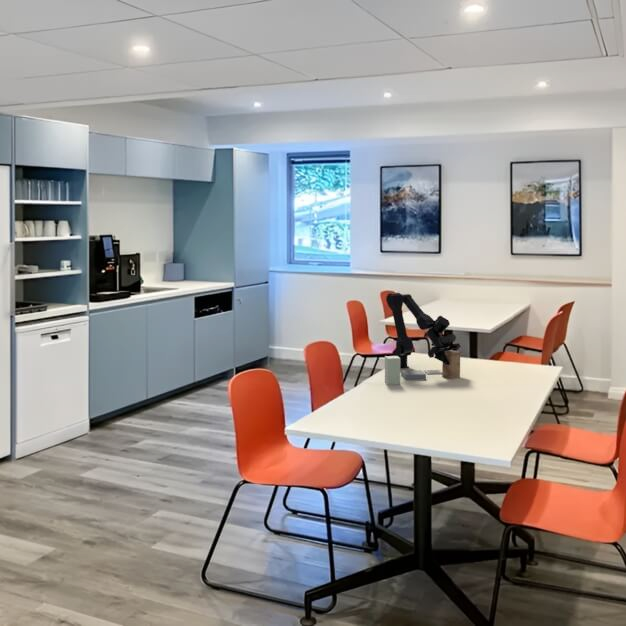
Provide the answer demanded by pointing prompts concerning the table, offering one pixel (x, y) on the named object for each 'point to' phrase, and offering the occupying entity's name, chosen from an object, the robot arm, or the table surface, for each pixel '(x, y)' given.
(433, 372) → the tile
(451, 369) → the walnut pillar
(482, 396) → the table surface
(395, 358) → the sage pillar
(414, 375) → the slate block
